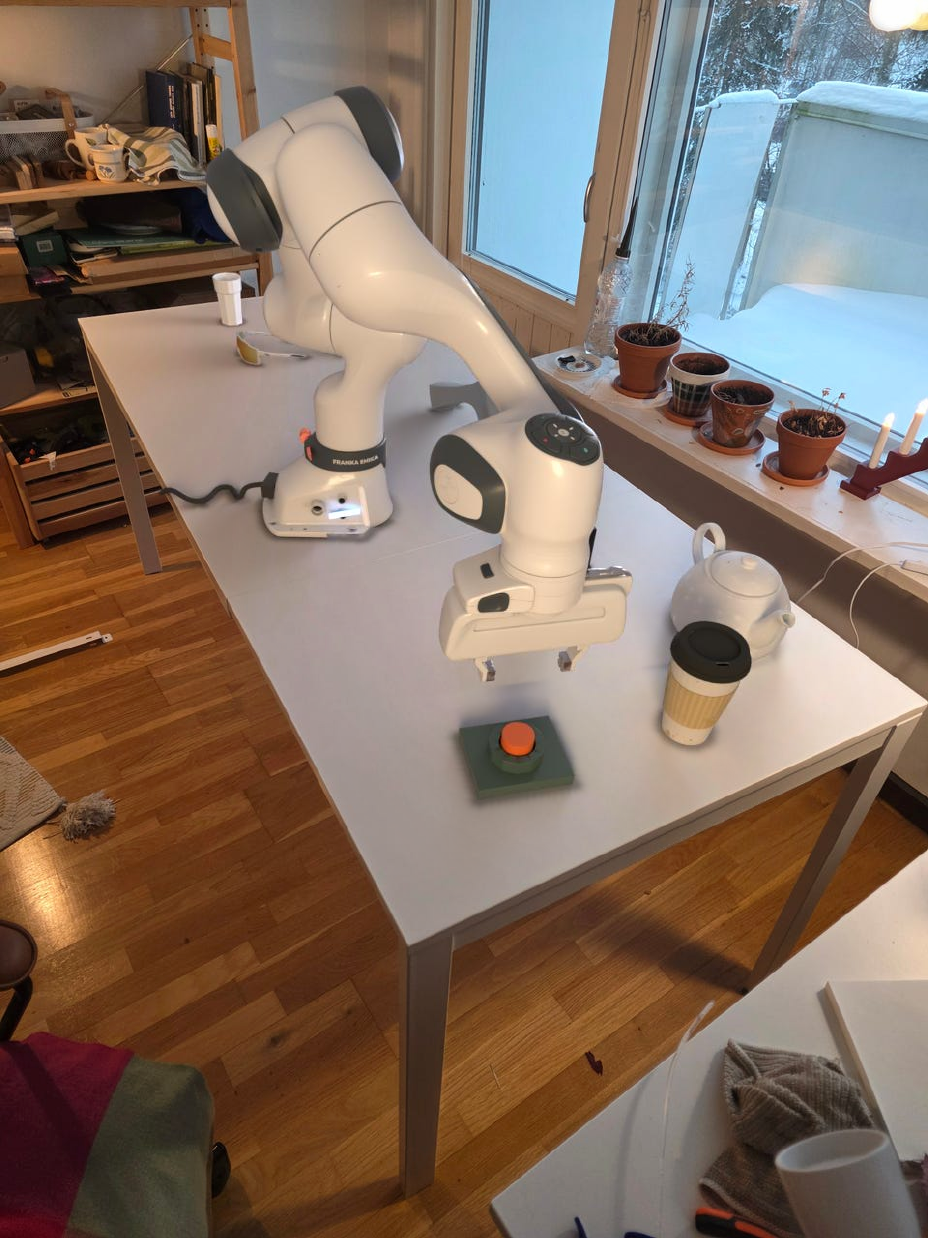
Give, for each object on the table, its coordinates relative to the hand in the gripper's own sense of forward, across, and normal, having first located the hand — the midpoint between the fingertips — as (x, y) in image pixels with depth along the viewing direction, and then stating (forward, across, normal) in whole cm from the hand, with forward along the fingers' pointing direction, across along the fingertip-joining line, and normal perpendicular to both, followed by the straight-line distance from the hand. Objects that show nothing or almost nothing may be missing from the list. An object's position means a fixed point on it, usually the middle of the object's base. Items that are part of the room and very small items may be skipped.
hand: (526, 672), depth 90 cm
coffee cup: (+16, -24, -1) cm, 29 cm away
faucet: (+15, -15, -83) cm, 86 cm away
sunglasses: (+15, +22, -129) cm, 132 cm away
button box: (+15, 0, 0) cm, 15 cm away
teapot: (+15, -39, -19) cm, 46 cm away
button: (+12, 0, 0) cm, 12 cm away
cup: (+15, +31, -150) cm, 154 cm away
